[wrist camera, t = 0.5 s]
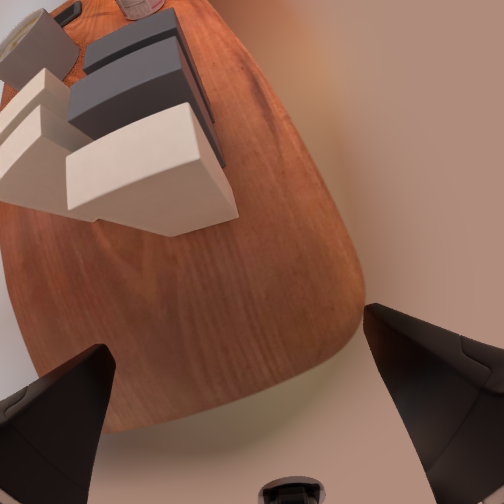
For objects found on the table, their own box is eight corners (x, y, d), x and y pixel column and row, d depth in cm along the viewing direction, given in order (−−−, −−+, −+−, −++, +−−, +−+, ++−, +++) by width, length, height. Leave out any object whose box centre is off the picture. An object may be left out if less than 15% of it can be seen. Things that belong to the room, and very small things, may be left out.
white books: (141, 191, 21) (40, 135, 9) (92, 223, 21) (-15, 198, 9) (121, 133, 21) (41, 63, 9) (77, 164, 21) (-11, 119, 9)
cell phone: (25, 45, 24) (23, 43, 23) (81, 1, 23) (79, -1, 22) (21, 62, 23) (19, 60, 22) (81, 13, 23) (79, 10, 22)
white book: (239, 218, 20) (200, 158, 8) (170, 237, 20) (67, 211, 8) (231, 188, 20) (188, 100, 8) (164, 208, 20) (65, 156, 8)
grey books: (226, 166, 20) (181, 67, 8) (160, 187, 20) (66, 122, 8) (209, 101, 21) (169, -3, 9) (150, 121, 21) (79, 38, 9)
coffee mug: (84, 62, 22) (43, 19, 12) (29, 114, 22) (-18, 84, 12) (73, 29, 23) (44, -5, 13) (27, 70, 23) (-6, 43, 13)
